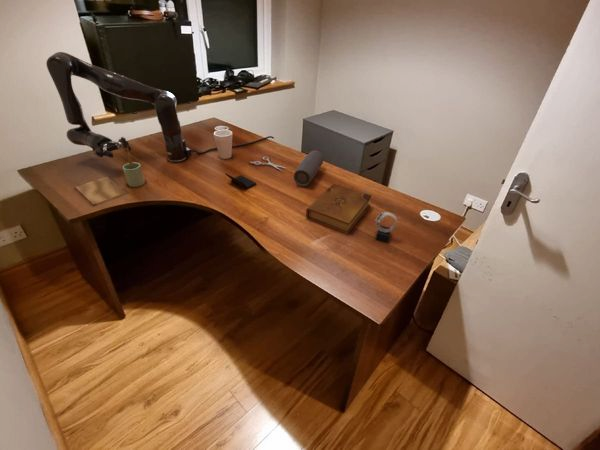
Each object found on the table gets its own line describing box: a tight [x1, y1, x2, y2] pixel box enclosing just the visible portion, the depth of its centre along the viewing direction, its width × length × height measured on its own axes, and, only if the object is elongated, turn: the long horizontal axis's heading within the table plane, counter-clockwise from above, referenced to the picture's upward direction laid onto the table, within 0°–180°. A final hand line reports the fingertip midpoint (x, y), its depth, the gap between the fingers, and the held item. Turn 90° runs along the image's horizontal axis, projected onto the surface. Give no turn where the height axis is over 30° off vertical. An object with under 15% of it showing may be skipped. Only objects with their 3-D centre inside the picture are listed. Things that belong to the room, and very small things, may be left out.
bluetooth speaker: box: [293, 149, 325, 187], centre depth 159 cm, size 23×9×10 cm, turn 161°
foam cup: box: [213, 129, 234, 160], centre depth 174 cm, size 10×9×13 cm
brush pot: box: [122, 161, 146, 188], centre depth 150 cm, size 7×8×9 cm
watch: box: [374, 211, 398, 243], centre depth 123 cm, size 6×8×11 cm
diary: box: [305, 183, 372, 235], centre depth 137 cm, size 23×19×6 cm
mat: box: [75, 176, 127, 206], centre depth 147 cm, size 14×20×1 cm
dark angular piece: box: [225, 173, 257, 190], centre depth 154 cm, size 12×7×10 cm
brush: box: [120, 136, 134, 169], centre depth 146 cm, size 2×2×22 cm
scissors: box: [249, 156, 286, 172], centre depth 171 cm, size 11×1×20 cm
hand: (121, 151), depth 146 cm, fingers open, 8 cm apart
